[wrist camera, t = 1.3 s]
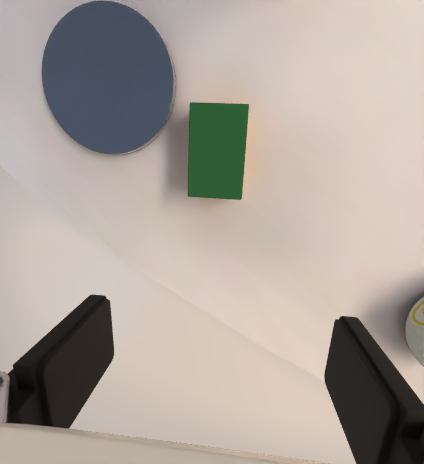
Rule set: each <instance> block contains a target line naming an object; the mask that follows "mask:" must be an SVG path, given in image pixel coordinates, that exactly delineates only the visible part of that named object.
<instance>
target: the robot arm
mask: <svg viewBox="0 0 424 464" xmlns="http://www.w3.org/2000/svg"><path fill="white" fill-rule="evenodd" d="M113 356H114V344H113V332H112V321H111V308H110V301H109V300H108V299H106V297H105V296H102V295H90V296H89V297H88V298H86V299H85V300H84V301H83V302H82V303H81V304H80V305H79V306H78V307H76V308H75V309H74V310H73V311H72V312H71V313H70V314H69V315H68V316H67V317H65V318H64V319H63V320H62V321H61V322H60V323H59V324H58V325H57V326H55V327H54V328H53V329H52V330H51V331H50V332H49V333H48V334H47V335H46V336H44V337H43V338H42V339H41V340H40V341H39V342H38V343H37V344H36V345H35V346H33V347H32V348H31V349H30V350H29V351H28V352H27V353H26V354H25V355H24V356H23V357H21V358H20V359H19V360H18V361H17V362H16V363H15V364H14V365H13V368H14V369H13V370H11V371H10V372H9V373H8V374H7V373H5V372H1V371H0V464H328V463H321V462H314V461H307V460H300V459H293V458H286V457H279V456H272V455H265V454H258V453H251V452H243V451H236V450H229V449H221V448H214V447H206V446H199V445H192V444H184V443H177V442H169V441H162V440H154V439H147V438H139V437H130V436H123V435H115V434H107V433H99V432H92V431H84V430H76V429H69V428H70V426H71V425H72V423H73V421H74V420H75V418H76V417H77V415H78V413H79V412H80V410H81V409H82V407H83V406H84V404H85V403H86V401H87V399H88V398H89V396H90V395H91V393H92V392H93V390H94V388H95V387H96V385H97V384H98V382H99V380H100V379H101V377H102V376H103V374H104V372H105V371H106V369H107V368H108V366H109V364H110V363H111V361H112V359H113ZM325 384H326V386H327V389H328V392H329V394H330V397H331V399H332V402H333V404H334V407H335V410H336V412H337V415H338V417H339V420H340V423H341V425H342V428H343V430H344V433H345V435H346V438H347V441H348V443H349V446H350V448H351V451H352V453H353V456H354V458H355V461H356V464H424V404H423V403H422V402H421V401H420V399H419V398H418V397H417V395H416V394H415V393H414V391H413V390H412V389H411V387H410V386H409V385H408V383H407V382H406V381H405V379H404V378H403V377H402V375H401V374H400V373H399V371H398V370H397V369H396V367H395V366H394V365H393V364H392V362H391V361H390V360H389V358H388V357H387V356H386V354H385V353H384V352H383V350H382V349H381V348H380V347H379V345H378V344H377V343H376V341H375V340H374V339H373V337H372V336H371V335H370V333H369V332H368V331H367V329H366V328H365V327H364V325H363V324H362V323H361V321H360V320H359V319H358V318H356V317H346V316H341V317H340V318H339V320H337V319H336V320H335V322H334V327H333V333H332V338H331V343H330V348H329V354H328V359H327V364H326V369H325Z"/></svg>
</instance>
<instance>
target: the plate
mask: <svg viewBox="0 0 424 464" xmlns="http://www.w3.org/2000/svg"><path fill="white" fill-rule="evenodd" d="M42 81H43V87H44V92H45V96H46V99H47V102H48V105H49V107H50V109H51V111H52V113H53V115H54V117H55V119H56V120H57V122H58V123H59V125H60V126H61V127H62V128H63V129H64V131H65V132H66V133H67V134H68V135H69V136H70V137H71V138H72V139H74V140H75V141H77V142H78V143H79V144H81V145H83V146H84V147H86V148H88V149H91V150H93V151H96V152H100V153H105V154H127V153H131V152H134V151H137V150H139V149H141V148H143V147H145V146H147V145H148V144H149V143H151V142H152V141H153V140H154V139H155V138H156V137H157V136H158V135H159V134H160V133H161V131H162V130H163V129H164V127H165V125H166V124H167V122H168V120H169V118H170V115H171V112H172V109H173V106H174V101H175V93H176V78H175V71H174V66H173V62H172V59H171V56H170V54H169V51H168V49H167V47H166V45H165V43H164V41H163V40H162V38H161V36H160V35H159V33H158V32H157V31H156V29H155V28H154V27H153V25H152V24H151V23H150V22H149V21H148V20H147V19H146V18H145V17H143V16H142V15H141V14H140V13H138V12H137V11H135V10H133V9H132V8H130V7H128V6H125V5H123V4H120V3H116V2H112V1H93V2H89V3H85V4H83V5H80V6H78V7H76V8H74V9H73V10H71V11H70V12H68V13H67V14H66V15H65V16H64V17H63V18H62V19H61V20H60V21H59V22H58V24H57V25H56V26H55V28H54V29H53V31H52V33H51V34H50V37H49V39H48V41H47V44H46V47H45V51H44V55H43V61H42Z"/></svg>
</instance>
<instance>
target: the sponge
mask: <svg viewBox="0 0 424 464" xmlns="http://www.w3.org/2000/svg"><path fill="white" fill-rule="evenodd" d="M248 110H249V104H224V103H190V118H189V164H188V197H204V198H221V199H238V200H241V199H242V188H243V175H244V162H245V149H246V136H247V123H248Z"/></svg>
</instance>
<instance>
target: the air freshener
mask: <svg viewBox="0 0 424 464" xmlns="http://www.w3.org/2000/svg"><path fill="white" fill-rule="evenodd" d="M405 331H406V339H407V343H408V346H409V348H410V350H411V352H412V354H413V355H414V357H415V358H416V359H417V360H418V362H419V363H420V364H421V365H423V366H424V297H422V298H421V299H420V300H419V301H418V302H417V303H416V304H415V305H414V306H413V307H412V309H411V311H410V313H409V315H408V318H407V321H406V327H405Z"/></svg>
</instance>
